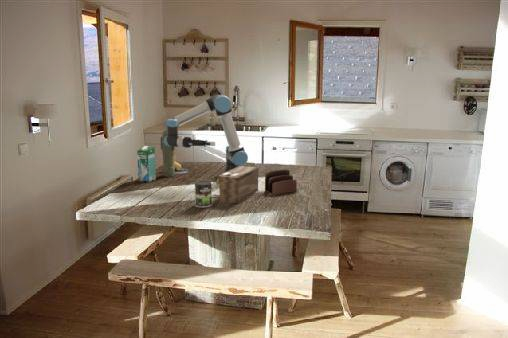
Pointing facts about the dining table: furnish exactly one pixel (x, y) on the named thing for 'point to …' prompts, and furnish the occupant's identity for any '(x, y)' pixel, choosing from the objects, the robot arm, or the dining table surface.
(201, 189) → the coffee can
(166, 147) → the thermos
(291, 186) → the letter holder
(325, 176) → the dining table surface
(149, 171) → the milk carton
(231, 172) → the box
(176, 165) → the stuffed giraffe
